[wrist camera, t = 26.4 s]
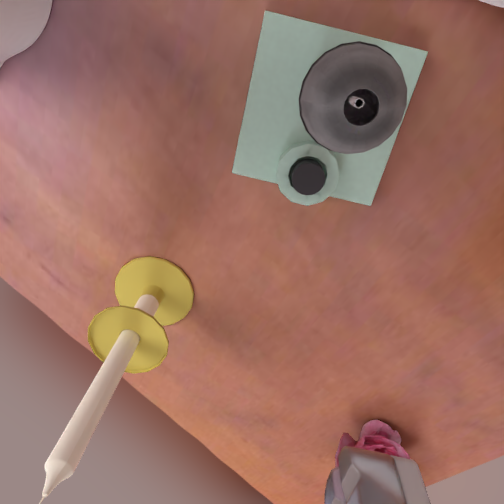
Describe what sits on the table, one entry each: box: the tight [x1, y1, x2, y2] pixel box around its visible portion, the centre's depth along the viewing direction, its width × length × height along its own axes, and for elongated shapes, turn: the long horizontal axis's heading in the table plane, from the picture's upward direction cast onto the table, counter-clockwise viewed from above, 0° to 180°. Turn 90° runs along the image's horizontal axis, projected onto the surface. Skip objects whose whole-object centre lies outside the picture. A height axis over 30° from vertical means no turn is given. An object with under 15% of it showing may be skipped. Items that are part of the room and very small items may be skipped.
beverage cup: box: [299, 41, 407, 154], centre depth 30 cm, size 7×7×20 cm
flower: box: [335, 420, 410, 468], centre depth 57 cm, size 11×10×10 cm
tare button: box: [291, 159, 325, 195], centre depth 40 cm, size 3×3×2 cm
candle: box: [39, 256, 194, 504], centre depth 39 cm, size 10×10×27 cm
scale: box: [232, 11, 428, 206], centre depth 40 cm, size 15×16×3 cm
